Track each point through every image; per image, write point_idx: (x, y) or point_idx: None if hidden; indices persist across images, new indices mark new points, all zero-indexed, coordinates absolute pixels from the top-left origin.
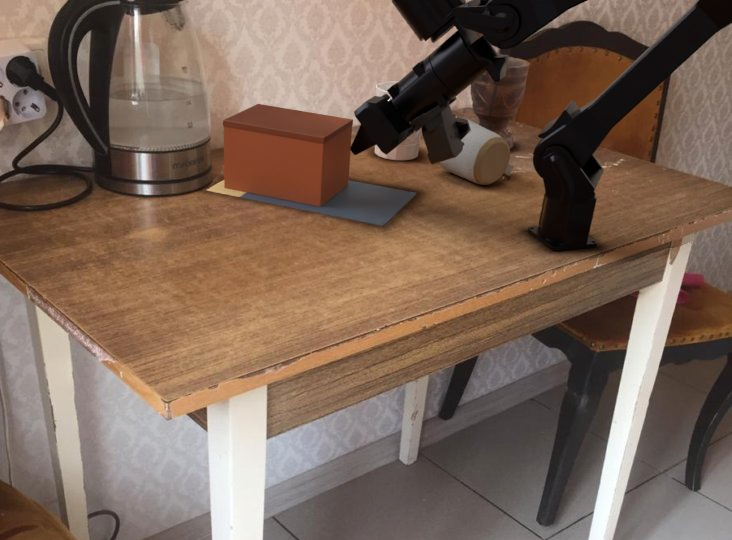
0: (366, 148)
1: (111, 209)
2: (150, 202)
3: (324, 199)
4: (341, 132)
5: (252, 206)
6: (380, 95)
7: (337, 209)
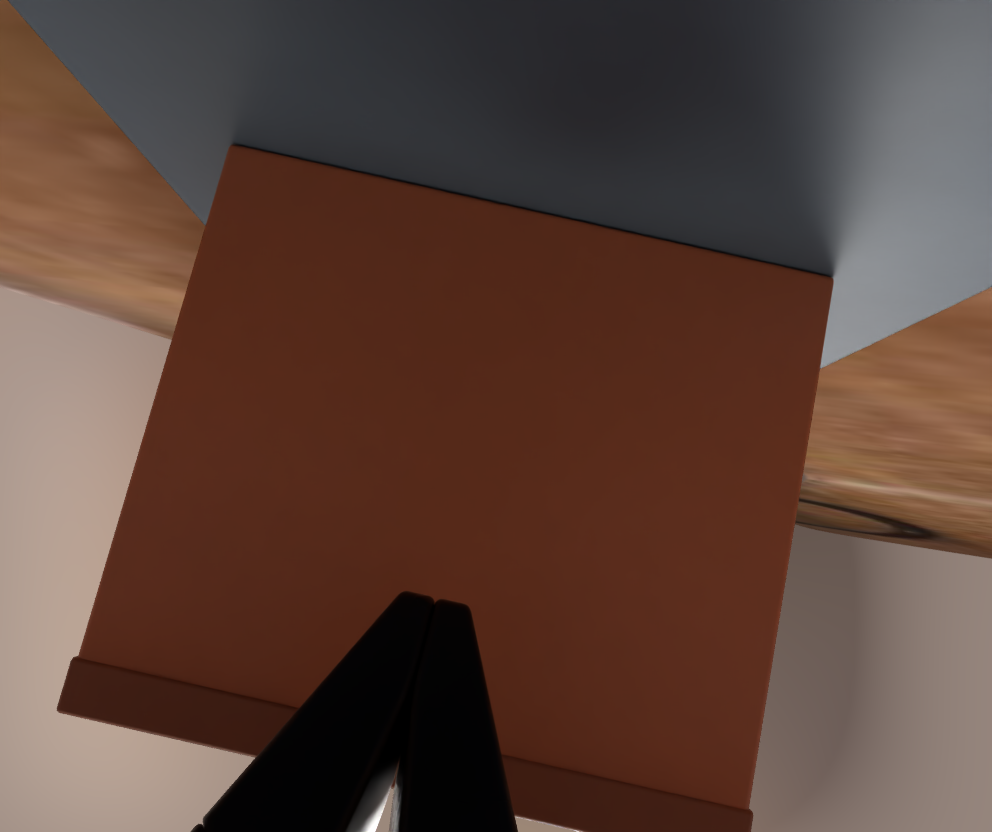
0: (501, 778)
1: (917, 508)
2: (845, 481)
3: (750, 295)
4: None
5: (856, 406)
6: None
7: (891, 215)
